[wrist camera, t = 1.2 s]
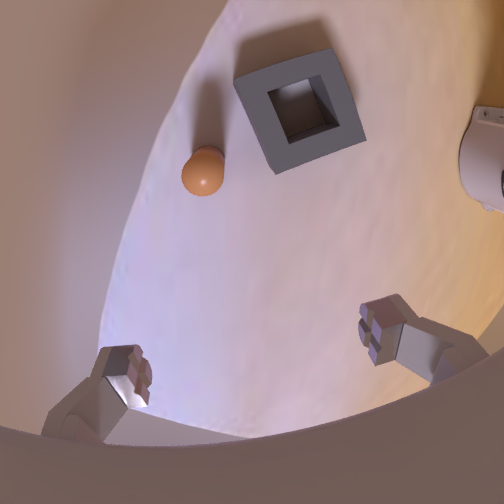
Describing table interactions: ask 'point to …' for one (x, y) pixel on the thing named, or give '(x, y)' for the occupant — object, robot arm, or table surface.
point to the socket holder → (329, 100)
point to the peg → (204, 171)
